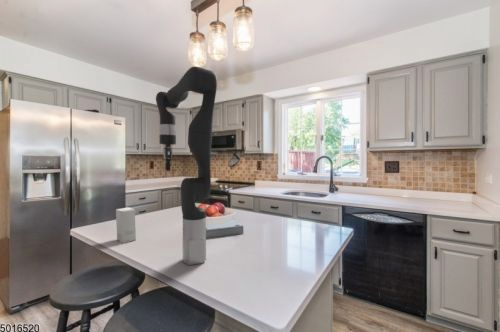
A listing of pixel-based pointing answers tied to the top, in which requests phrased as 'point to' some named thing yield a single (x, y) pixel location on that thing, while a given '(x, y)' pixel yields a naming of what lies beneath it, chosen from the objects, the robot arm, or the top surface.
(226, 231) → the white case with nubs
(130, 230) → the skincare box
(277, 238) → the top surface
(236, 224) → the cover
